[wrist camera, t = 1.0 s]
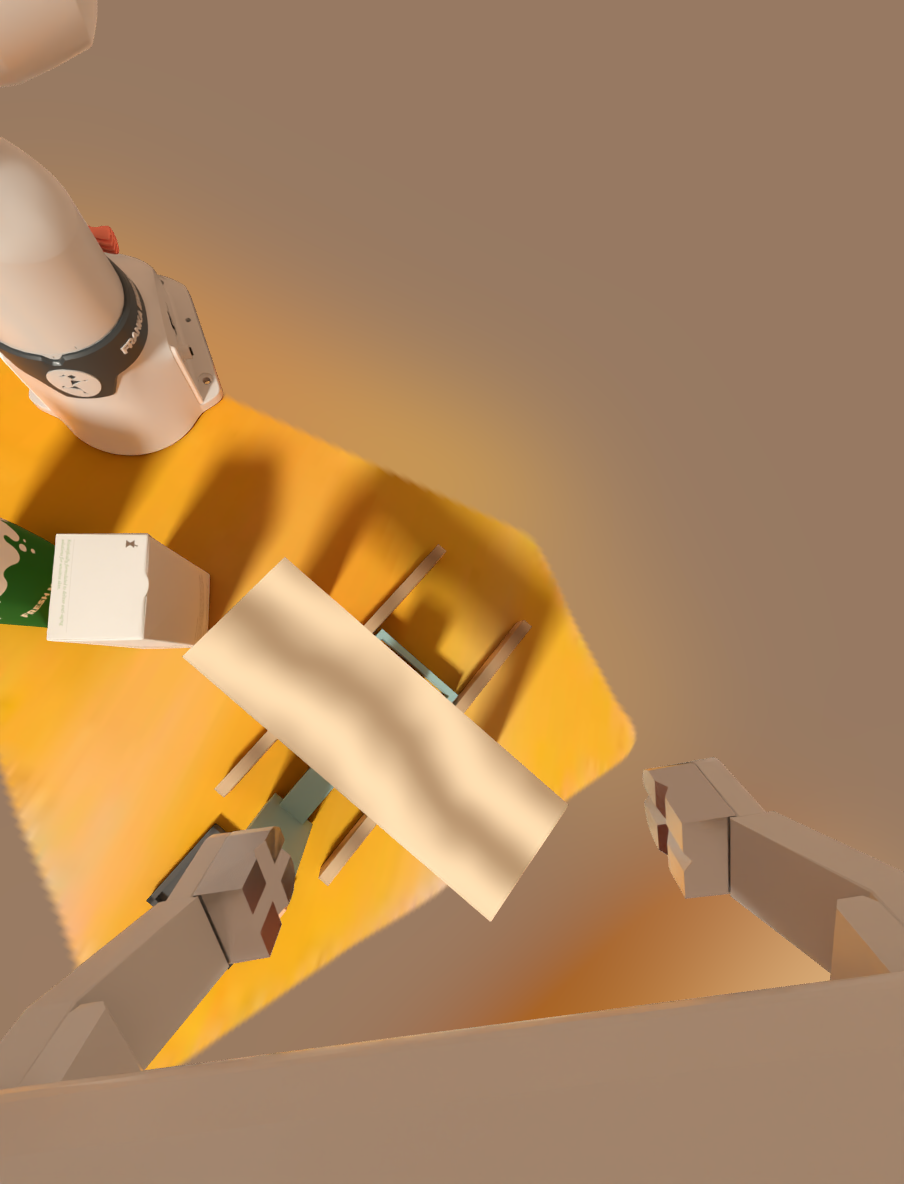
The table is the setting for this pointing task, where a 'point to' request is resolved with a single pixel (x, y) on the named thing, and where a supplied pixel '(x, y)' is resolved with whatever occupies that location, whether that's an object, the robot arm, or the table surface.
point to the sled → (319, 783)
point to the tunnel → (380, 733)
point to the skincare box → (126, 593)
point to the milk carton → (24, 576)
